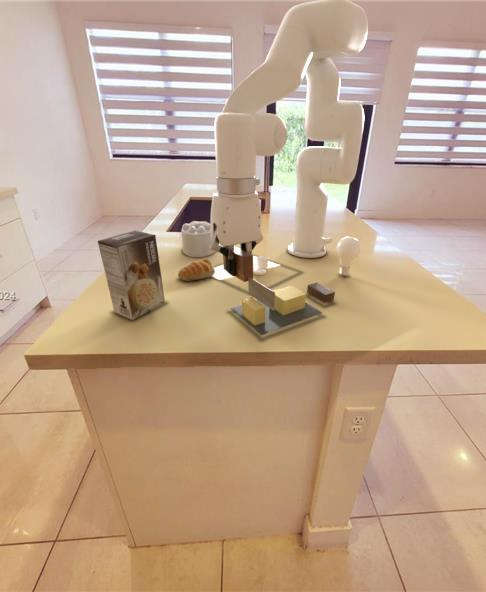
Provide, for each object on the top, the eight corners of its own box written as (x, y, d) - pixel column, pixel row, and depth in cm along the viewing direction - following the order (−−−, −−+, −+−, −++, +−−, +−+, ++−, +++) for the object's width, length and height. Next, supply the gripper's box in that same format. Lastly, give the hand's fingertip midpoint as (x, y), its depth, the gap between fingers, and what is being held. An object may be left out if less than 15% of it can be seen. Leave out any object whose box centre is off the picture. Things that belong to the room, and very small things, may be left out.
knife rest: (315, 293, 77) (316, 282, 76) (333, 303, 73) (335, 291, 72) (306, 296, 76) (307, 285, 74) (324, 306, 71) (325, 294, 70)
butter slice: (251, 311, 67) (252, 297, 65) (265, 322, 63) (265, 307, 62) (241, 314, 66) (241, 299, 64) (254, 325, 62) (255, 310, 60)
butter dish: (287, 294, 76) (287, 291, 76) (322, 316, 68) (322, 312, 67) (230, 312, 68) (230, 308, 68) (261, 339, 60) (261, 335, 59)
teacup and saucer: (261, 280, 83) (262, 266, 81) (240, 271, 88) (240, 258, 86) (282, 271, 89) (283, 257, 87) (261, 263, 94) (261, 250, 92)
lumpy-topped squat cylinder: (216, 244, 109) (215, 219, 105) (213, 257, 98) (212, 230, 93) (186, 243, 109) (184, 218, 105) (179, 257, 97) (177, 229, 93)
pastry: (186, 285, 80) (183, 272, 78) (174, 276, 84) (171, 263, 82) (217, 274, 85) (216, 261, 83) (204, 267, 89) (203, 254, 87)
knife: (233, 278, 75) (231, 244, 71) (278, 308, 62) (279, 268, 58) (224, 280, 74) (222, 246, 70) (268, 312, 61) (269, 271, 57)
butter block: (290, 298, 72) (291, 285, 71) (304, 308, 69) (306, 293, 67) (269, 305, 69) (270, 291, 68) (283, 315, 66) (284, 300, 64)
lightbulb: (359, 275, 88) (367, 237, 83) (348, 282, 84) (355, 242, 78) (339, 269, 92) (345, 232, 86) (327, 275, 87) (333, 236, 82)
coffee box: (146, 295, 74) (136, 229, 67) (166, 303, 71) (157, 234, 64) (112, 312, 67) (96, 240, 60) (132, 321, 64) (118, 246, 57)
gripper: (259, 180, 68) (258, 259, 76) (189, 186, 60) (197, 274, 69) (280, 185, 62) (276, 270, 71) (207, 193, 54) (212, 287, 63)
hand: (237, 271), depth 70 cm, fingers closed on knife, 2 cm apart
